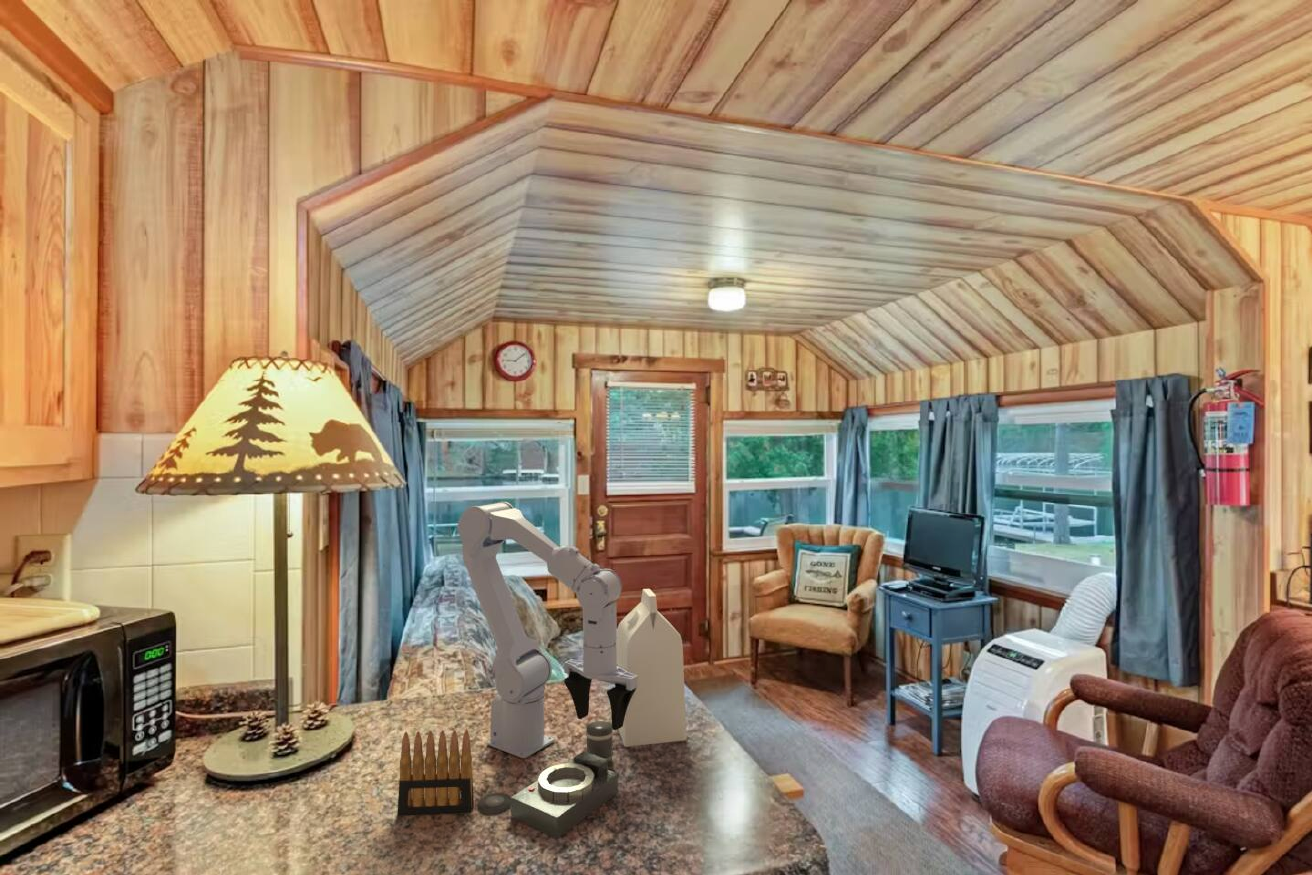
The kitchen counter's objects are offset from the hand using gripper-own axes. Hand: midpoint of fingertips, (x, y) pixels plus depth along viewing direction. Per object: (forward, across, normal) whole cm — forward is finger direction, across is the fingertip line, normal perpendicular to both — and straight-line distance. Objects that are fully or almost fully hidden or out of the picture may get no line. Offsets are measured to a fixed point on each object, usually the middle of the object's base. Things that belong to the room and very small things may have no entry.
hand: (599, 722), depth 112 cm
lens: (+7, 0, 0) cm, 7 cm away
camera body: (+7, -4, +13) cm, 15 cm away
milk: (+7, 0, -15) cm, 17 cm away
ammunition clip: (+7, +11, +25) cm, 28 cm away
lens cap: (+7, +5, +19) cm, 21 cm away
